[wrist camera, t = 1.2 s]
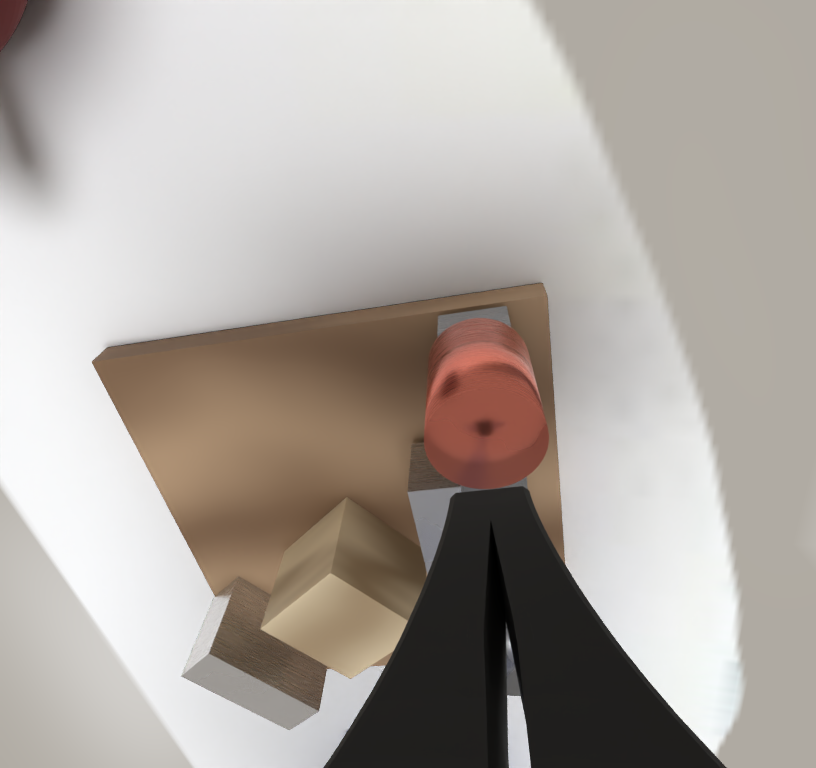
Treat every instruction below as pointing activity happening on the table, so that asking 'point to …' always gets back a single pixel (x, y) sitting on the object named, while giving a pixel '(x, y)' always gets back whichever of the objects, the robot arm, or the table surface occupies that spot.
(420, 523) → the lever
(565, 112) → the table surface
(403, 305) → the board
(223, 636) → the brown grey rectangular block
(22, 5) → the mug
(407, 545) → the tan cube
